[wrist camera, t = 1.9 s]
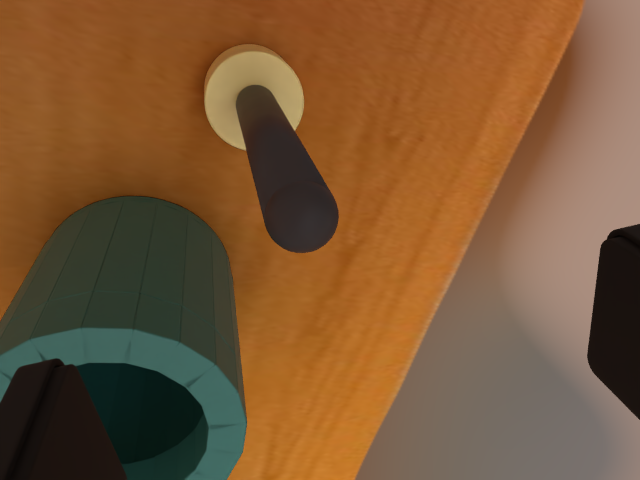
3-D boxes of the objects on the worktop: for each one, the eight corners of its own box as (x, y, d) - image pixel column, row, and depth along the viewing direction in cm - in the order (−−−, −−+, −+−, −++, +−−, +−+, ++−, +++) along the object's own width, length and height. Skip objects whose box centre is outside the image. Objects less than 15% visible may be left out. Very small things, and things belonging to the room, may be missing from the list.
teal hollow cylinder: (9, 218, 30) (-112, 371, 18) (208, 178, 31) (211, 298, 19) (79, 369, 35) (20, 561, 23) (247, 329, 36) (267, 494, 25)
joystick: (193, 52, 28) (183, 157, 12) (287, 36, 28) (395, 116, 12) (215, 144, 30) (231, 332, 14) (301, 127, 30) (408, 291, 15)
